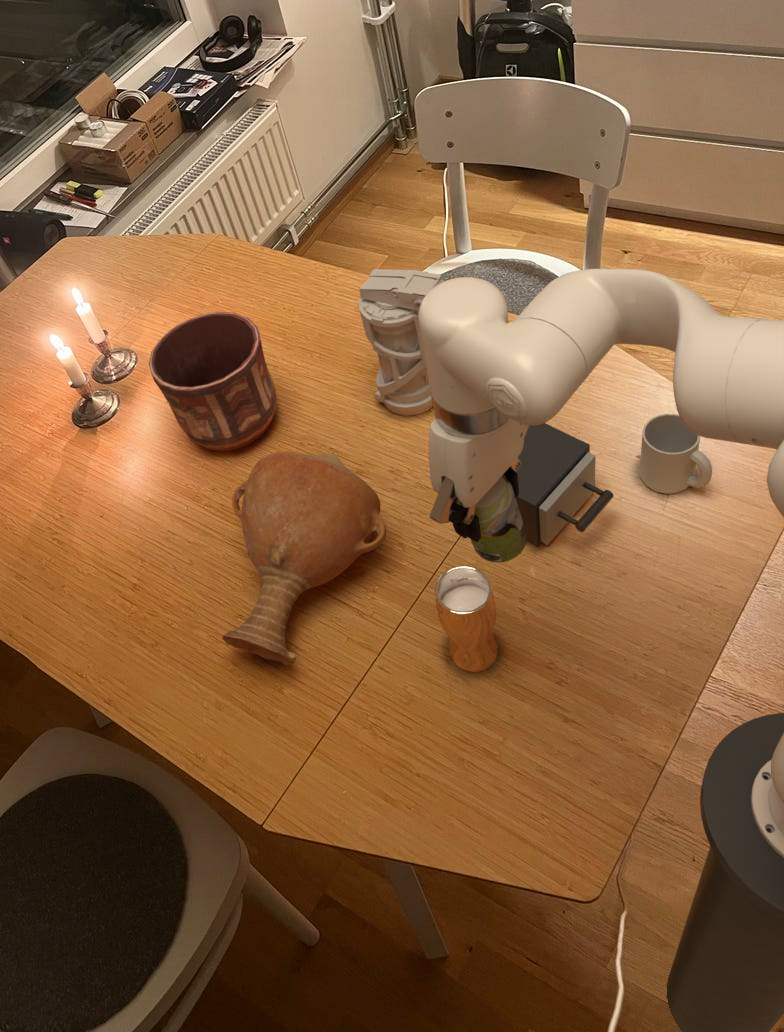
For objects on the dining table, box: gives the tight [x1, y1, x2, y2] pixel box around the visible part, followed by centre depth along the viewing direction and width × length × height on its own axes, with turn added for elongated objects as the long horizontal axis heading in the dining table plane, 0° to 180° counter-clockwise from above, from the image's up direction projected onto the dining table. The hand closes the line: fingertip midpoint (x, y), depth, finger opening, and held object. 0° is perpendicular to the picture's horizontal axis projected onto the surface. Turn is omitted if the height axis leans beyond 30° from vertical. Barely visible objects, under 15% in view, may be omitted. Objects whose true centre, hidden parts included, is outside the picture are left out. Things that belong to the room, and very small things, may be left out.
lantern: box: [358, 268, 445, 417], centre depth 140 cm, size 13×10×25 cm
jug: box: [222, 451, 387, 666], centre depth 124 cm, size 20×19×30 cm
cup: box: [639, 413, 713, 495], centre depth 125 cm, size 7×10×9 cm
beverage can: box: [457, 475, 527, 564], centre depth 99 cm, size 6×7×12 cm
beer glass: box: [434, 565, 499, 673], centre depth 112 cm, size 7×7×15 cm
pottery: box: [148, 311, 278, 452], centre depth 148 cm, size 18×18×18 cm
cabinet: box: [516, 422, 591, 548], centre depth 129 cm, size 15×13×10 cm
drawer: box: [538, 452, 614, 546], centre depth 126 cm, size 18×11×8 cm, turn 45°
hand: (486, 511), depth 98 cm, fingers closed on beverage can, 6 cm apart
